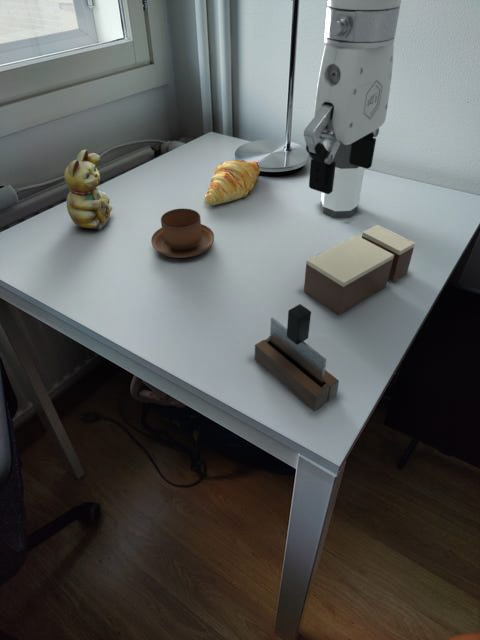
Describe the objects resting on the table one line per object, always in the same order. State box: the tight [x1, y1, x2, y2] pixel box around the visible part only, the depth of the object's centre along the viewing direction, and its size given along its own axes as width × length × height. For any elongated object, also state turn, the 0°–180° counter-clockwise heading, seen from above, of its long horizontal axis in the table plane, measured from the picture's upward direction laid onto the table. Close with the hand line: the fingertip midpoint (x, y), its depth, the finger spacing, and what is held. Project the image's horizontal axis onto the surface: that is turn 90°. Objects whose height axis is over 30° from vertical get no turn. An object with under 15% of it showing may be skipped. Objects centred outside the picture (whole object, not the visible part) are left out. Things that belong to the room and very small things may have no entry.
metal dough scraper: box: [269, 303, 327, 387], centre depth 60 cm, size 10×2×12 cm, turn 38°
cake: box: [303, 234, 394, 316], centre depth 77 cm, size 8×12×6 cm, turn 128°
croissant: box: [204, 159, 261, 206], centre depth 105 cm, size 21×10×8 cm, turn 148°
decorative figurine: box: [63, 149, 113, 231], centre depth 92 cm, size 10×8×15 cm
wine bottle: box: [320, 132, 366, 219], centre depth 90 cm, size 8×8×30 cm
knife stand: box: [254, 335, 340, 412], centre depth 63 cm, size 12×4×3 cm, turn 38°
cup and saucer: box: [150, 208, 215, 259], centre depth 88 cm, size 12×12×6 cm
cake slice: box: [361, 224, 416, 283], centre depth 81 cm, size 8×4×6 cm, turn 38°
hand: (340, 177), depth 61 cm, fingers open, 9 cm apart
